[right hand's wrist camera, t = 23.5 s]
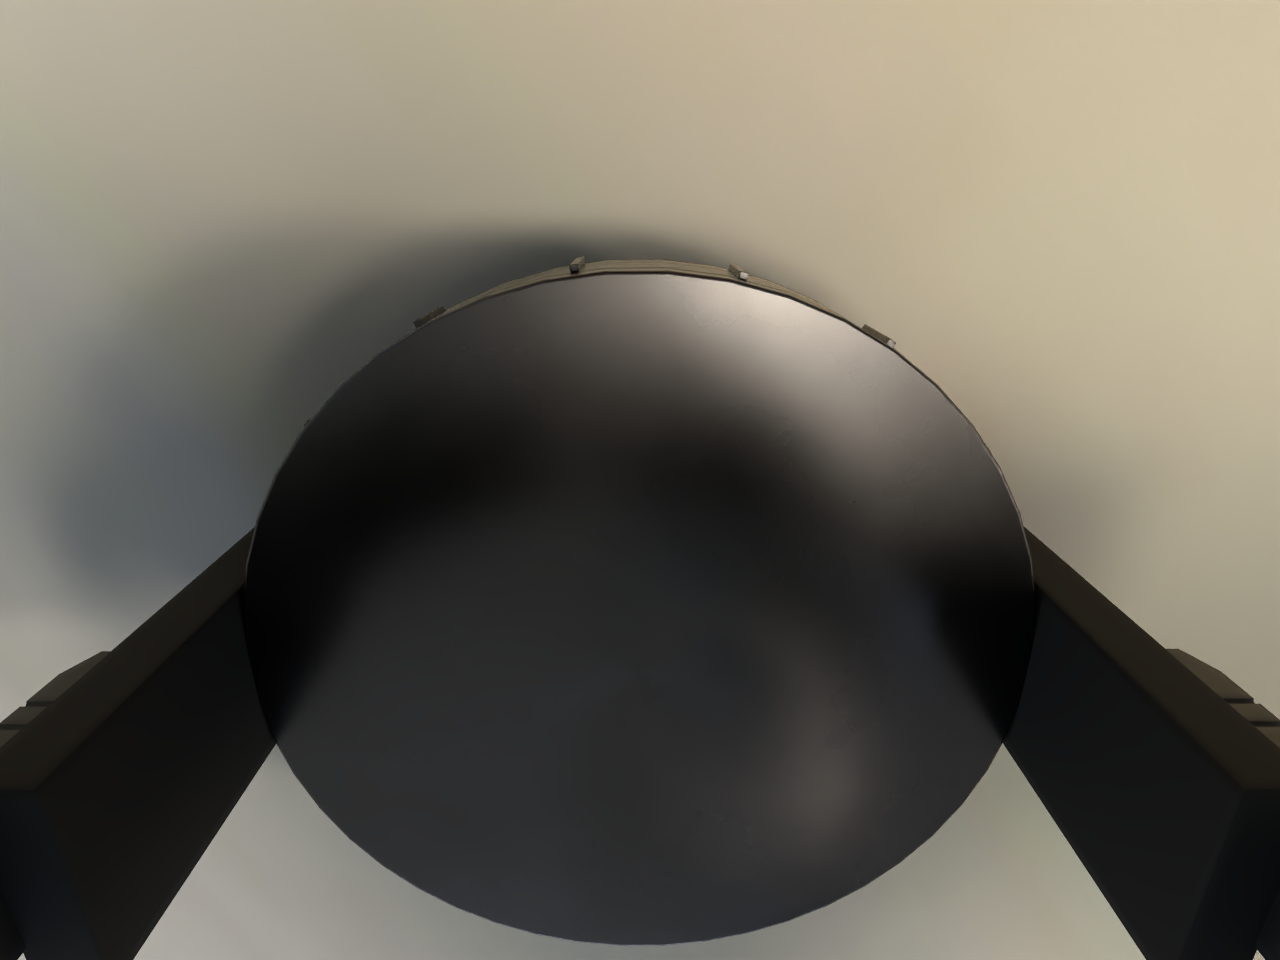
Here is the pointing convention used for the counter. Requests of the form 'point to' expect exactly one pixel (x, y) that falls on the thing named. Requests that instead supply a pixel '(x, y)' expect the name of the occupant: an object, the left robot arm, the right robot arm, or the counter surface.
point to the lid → (639, 604)
